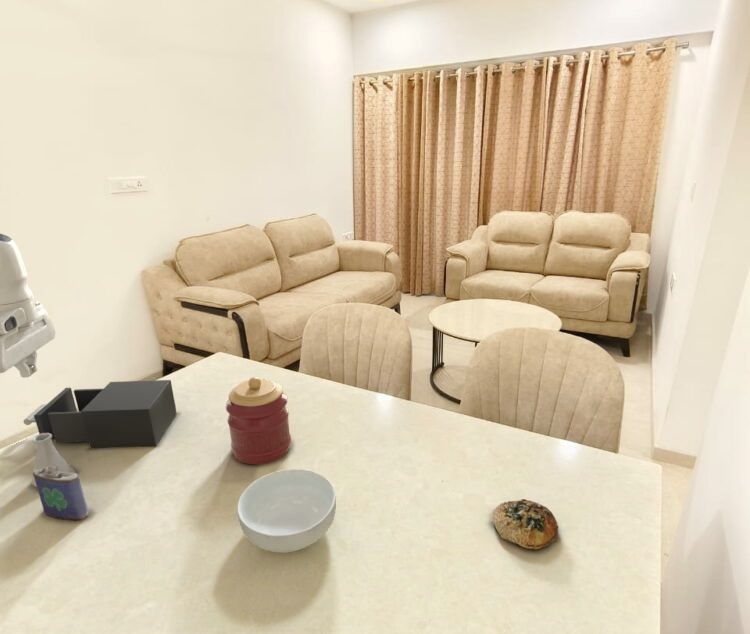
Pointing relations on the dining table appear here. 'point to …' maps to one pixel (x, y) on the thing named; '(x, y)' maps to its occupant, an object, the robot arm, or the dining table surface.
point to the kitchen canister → (258, 421)
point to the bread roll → (525, 523)
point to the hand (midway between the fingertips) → (29, 374)
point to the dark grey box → (129, 414)
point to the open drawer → (64, 415)
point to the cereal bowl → (287, 510)
